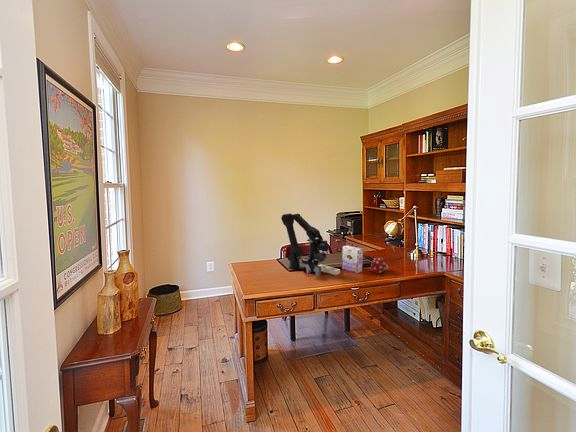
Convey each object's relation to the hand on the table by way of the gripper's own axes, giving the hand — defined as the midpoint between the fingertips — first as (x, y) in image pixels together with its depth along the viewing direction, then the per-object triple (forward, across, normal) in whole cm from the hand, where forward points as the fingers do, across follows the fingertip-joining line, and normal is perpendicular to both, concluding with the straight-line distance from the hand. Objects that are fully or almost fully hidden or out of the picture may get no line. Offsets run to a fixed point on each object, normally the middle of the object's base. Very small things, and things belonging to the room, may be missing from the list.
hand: (313, 271), depth 217 cm
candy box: (+2, +24, -15) cm, 28 cm away
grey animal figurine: (+2, 0, 0) cm, 2 cm away
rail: (+2, +10, -5) cm, 11 cm away
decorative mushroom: (+2, +35, -32) cm, 47 cm away
